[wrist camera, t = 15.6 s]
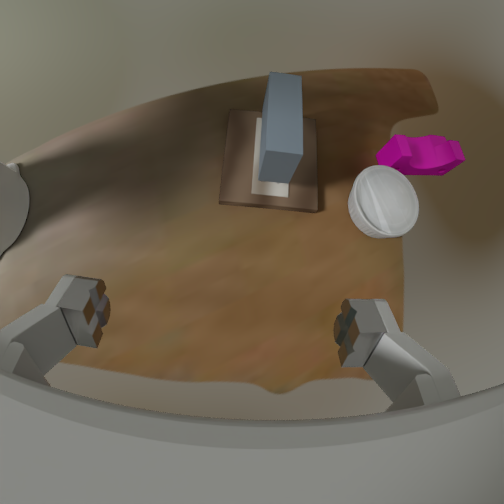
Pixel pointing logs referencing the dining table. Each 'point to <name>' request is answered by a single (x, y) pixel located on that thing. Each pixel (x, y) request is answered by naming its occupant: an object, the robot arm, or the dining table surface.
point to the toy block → (421, 155)
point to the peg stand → (247, 168)
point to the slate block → (281, 128)
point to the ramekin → (383, 202)
